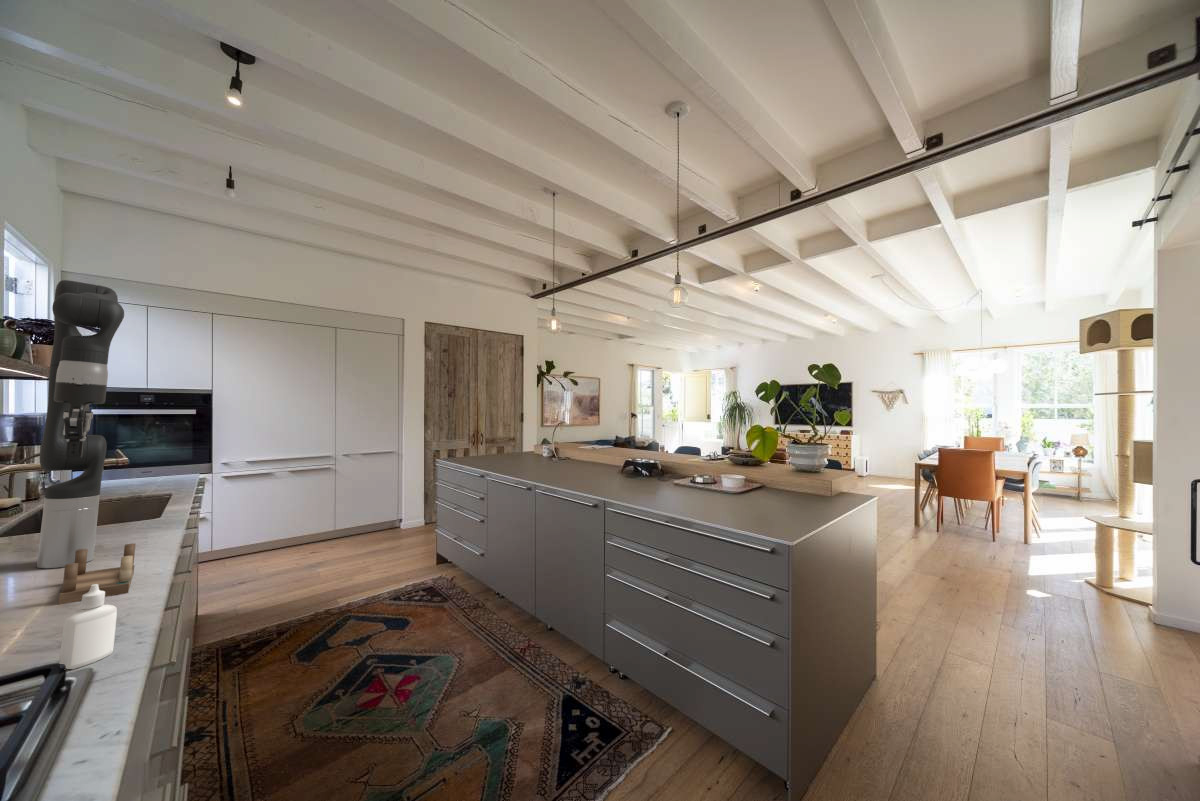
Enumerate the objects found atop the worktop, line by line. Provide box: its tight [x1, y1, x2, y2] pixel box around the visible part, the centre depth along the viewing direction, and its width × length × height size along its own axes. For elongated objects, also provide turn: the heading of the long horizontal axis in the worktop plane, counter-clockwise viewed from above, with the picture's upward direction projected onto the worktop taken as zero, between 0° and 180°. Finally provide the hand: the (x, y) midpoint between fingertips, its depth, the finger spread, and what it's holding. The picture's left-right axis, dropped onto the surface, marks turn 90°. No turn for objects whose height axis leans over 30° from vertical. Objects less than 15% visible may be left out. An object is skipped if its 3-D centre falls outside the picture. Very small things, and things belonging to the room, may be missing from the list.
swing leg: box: [119, 555, 134, 582], centre depth 99 cm, size 11×2×5 cm, turn 46°
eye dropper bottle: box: [58, 584, 118, 670], centre depth 69 cm, size 4×6×12 cm
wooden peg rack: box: [58, 543, 136, 605], centre depth 97 cm, size 16×10×8 cm, turn 44°
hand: (73, 458), depth 97 cm, fingers closed
